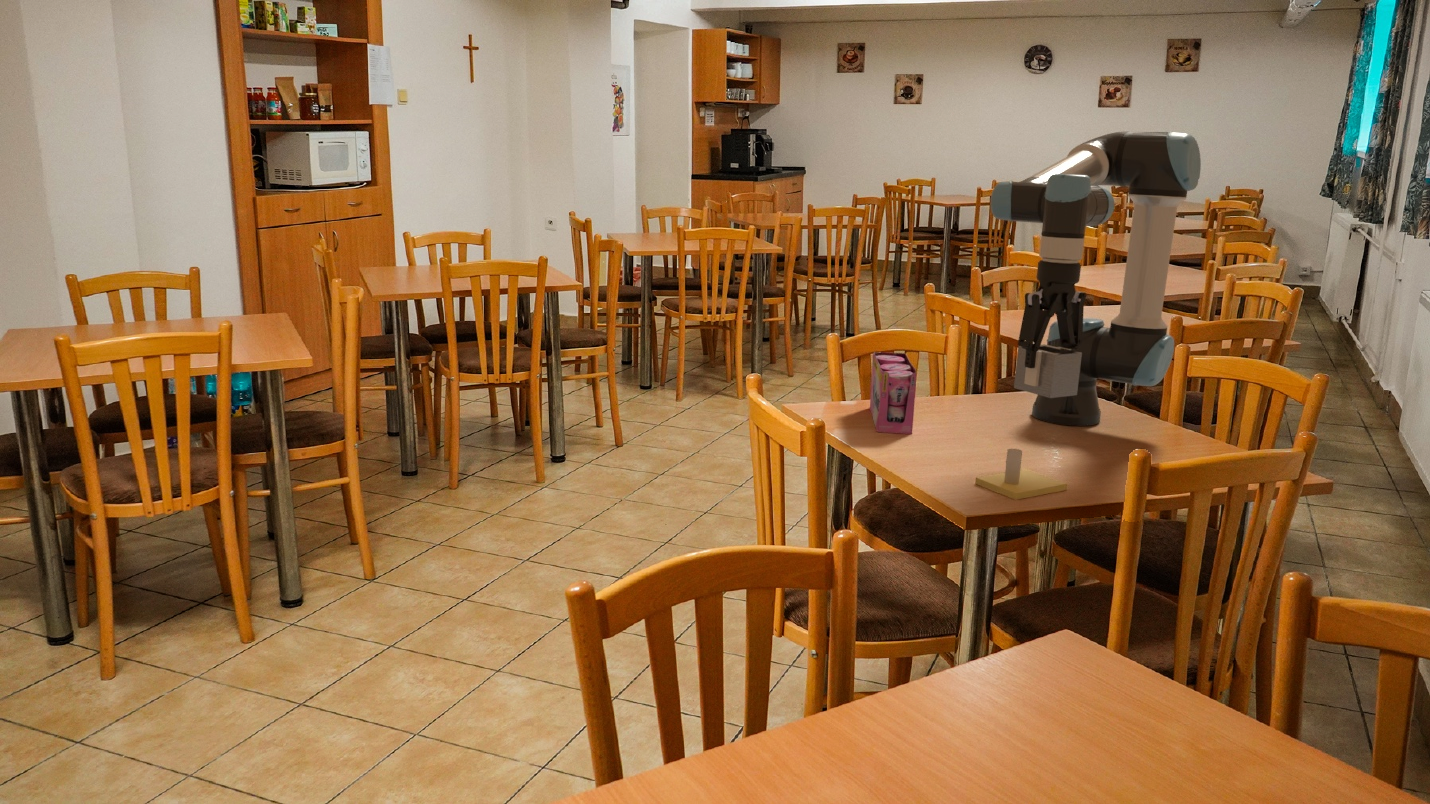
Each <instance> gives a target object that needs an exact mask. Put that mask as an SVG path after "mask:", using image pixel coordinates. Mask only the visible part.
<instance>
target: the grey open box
mask: <svg viewBox="0 0 1430 804" xmlns="http://www.w3.org/2000/svg"><path fill="white" fill-rule="evenodd" d="M1038 351H1041V352H1042V356H1041V365H1040V374H1039V382H1038V386H1036V387H1035V386H1031V385H1027V384H1024V381H1025V372H1026V367H1025V357H1026V349H1023V348H1022V347H1021V346H1018V347H1017V356H1016V365H1015V374H1014V382H1013V388H1014V389H1017V390H1020V391H1024V392H1026V393H1031V394H1034V395H1041V396H1045V397H1048V398H1056V397H1065V396H1074V395H1077V390H1078V382H1079V374H1080V366H1081V357H1082V353H1081V352H1076V351H1072V350H1067V349H1063V348H1058V347H1054V346H1050V345H1047V344H1041V345H1040V347H1039V350H1038Z"/></svg>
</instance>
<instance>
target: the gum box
mask: <svg viewBox="0 0 1430 804" xmlns="http://www.w3.org/2000/svg"><path fill="white" fill-rule="evenodd" d="M872 354H873V355H872V363H871V365H872V366H871V379H870V396H869V397H870V399H869V409H870V413H871V416H872V419H873V423H874V427H875V429H876V432H877V433H888V434H889V433H891V434H904V435H905V434H906V435H907V434H908V435H912V434H913V428H914V427H913V426H914V416H915V415H914V414H915V401H916V400H915V399H916V386H917V385H916V384H917V383H916V382H917V369H916V368H915V367H914V365H913V364H912V363H911V361H910V359H909V356H908V355H907V354H906V353H905V352H904V353H903V352H883V351H881V352H879V351H877V352H876V351H874V352H872Z"/></svg>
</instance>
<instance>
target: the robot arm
mask: <svg viewBox="0 0 1430 804" xmlns="http://www.w3.org/2000/svg"><path fill="white" fill-rule="evenodd" d="M1201 163H1202V162H1201V152H1200V147H1199V144H1198V142H1197V140H1196V138H1195V137H1194V136H1193V135H1191V134H1189V133H1185V132H1174V131H1118V132H1112V133H1107V134H1104V135H1100V136H1097V137H1095V138H1092V139H1089V140H1087V141H1085V142H1082V143H1080V144H1077V145H1076V146H1075V147H1074V148H1072V149H1071V150H1070V151H1069V152H1068V154H1067V155H1066V157H1064V158H1062V159H1061V160H1059V161H1057V162H1055V163H1053V164H1051V165H1049V166H1047V167H1046V168H1044V169H1042V170H1040V171H1039V172H1037V173H1034V174H1033V175H1031V176H1029V177H1027V178H1025V179H1023V180H1021V181H1013V180H1010V181H1001V182H1000V181H999V182H998V183H997V184H996V185H995V186H994V187H993V190H992V192H991V196H990V211H991V214H992V215H993V217H994V218H995V219H997V220H1002V221H1009V222H1010V223H1011V222H1018V223H1019V222H1020V223H1022V222H1023V223H1037V224H1038V223H1039V224H1042V227H1041V228H1042V229H1041V234H1040V235H1041V236H1040V243H1039V244H1040V246H1039V255H1038V257H1040V258H1041V259H1039V261H1038V262H1037V270H1036V279H1037V281H1038V282H1039V285H1038V288H1037V290H1036V291H1035V292H1032V293H1031V292H1026V293H1025V294H1024V310H1023V315H1022V321H1021V325H1020V331H1019V337H1018V340H1017V345H1018V346H1021V347H1022V348H1023V349H1026V357H1025V367H1026V372H1025V381H1024V384H1027V385H1031V386H1035V387H1036V386H1038V382H1039V374H1040V365H1041V356H1042V352H1041V351H1038V350H1039V347H1040V345H1042V343H1043V342H1042V341H1043V340H1044V336H1045V334H1046V331H1047V328H1048V327H1049V330H1048V335H1047V339H1046V345H1050V346H1054V347H1058V348H1063V349H1067V350H1072V351H1076V352H1081V353H1082V357H1081V366H1080V374H1079V382H1078V390H1077V395H1074V396H1065V397H1056V398H1048V397H1045V396H1041V395H1037V394H1036V395H1037V396H1036V397H1035V401H1034V402H1033V404H1032V410H1031V416H1033V418H1035V419H1038V420H1040V421H1043V422H1046V423H1050V424H1056V425H1062V426H1063V425H1064V426H1074V427H1075V426H1077V427H1083V426H1094V425H1097V424H1099V423H1100V422H1101V414H1102V412H1101V411H1102V410H1101V409H1100V406H1099V405H1100V403H1099V398H1098V392H1097V379H1099V380H1104V381H1110V382H1111V381H1112V382H1118V383H1123V384H1124V383H1125V384H1131V385H1132V386H1134V387H1135V386H1143V387H1153V386H1154V387H1155V386H1156V385H1157V384H1159V383H1161V381H1162V380H1163V379H1164V377H1165V375H1166V374H1167V371H1168V370H1169V368H1170V365H1171V362H1172V359H1173V357H1174V356H1173V355H1174V353H1175V352H1174V351H1175V338H1174V337H1173V336H1172V335H1170V334H1168V333H1167V331H1168V325H1167V323H1166V322H1165V321H1164V320H1163V318H1162V314H1163V309H1164V308H1163V307H1164V300H1165V295H1166V285H1167V279H1168V275H1169V274H1168V273H1169V267H1170V258H1171V251H1172V245H1173V239H1174V233H1175V232H1174V231H1175V226H1176V216H1177V211H1178V207H1179V206H1180V205H1181V204H1182V203H1183V202H1184V201H1186V200H1187V196H1188V195H1187V194H1188V192H1190V191H1193V190H1195V189H1196V188H1197V187H1198V184H1199V180H1200V178H1201ZM1103 186H1110V187H1111V186H1113V187H1123V188H1128V192H1127V193H1128V194H1127V196H1128V197H1129V199H1131V201H1132V202H1133V204H1134V205H1133V212H1132V221H1131V226H1130V235H1129V241H1128V249H1127V256H1126V263H1125V271H1124V277H1123V285H1122V291H1121V292H1122V294H1121V300H1120V301H1121V302H1120V308H1119V314H1118V315H1117V316H1115V317H1114V318H1113V319H1112V320H1110V326H1109V327H1105V323H1104V320H1103V319H1100V318H1084V305H1085V302H1086V299H1087V293H1086V292H1083V291H1077V290H1076V287H1075V284H1078V283H1079V282H1080V277H1081V271H1082V269H1081V268H1082V264H1081V263H1080V262H1079V261H1081V260H1082V259H1083V256H1084V255H1083V253H1084V246H1085V245H1084V244H1085V235H1086V234H1085V233H1086V228H1087V227H1090V228H1095V227H1096V226H1100V225H1103V224H1104V223H1106V222H1107V221H1108V220H1109V219H1110V218H1111V217H1112V215H1113V214H1114V211H1115V198H1114V197H1113V194H1112V193H1111V191H1109V190H1108V189H1107V188H1106V187H1103ZM1054 315H1056V321H1054V322H1053V323H1051V324H1050V326H1049V323H1050V321H1051V318H1053V317H1054Z"/></svg>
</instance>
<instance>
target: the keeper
mask: <svg viewBox="0 0 1430 804" xmlns="http://www.w3.org/2000/svg"><path fill="white" fill-rule="evenodd" d="M1022 458H1023V450H1021V449H1017V448H1008V449H1007V452H1006V461H1005V469H1004V470H1005V472H999V473H994V474H993V473H992V474H987V475H983V476H976V477H975V483H974V484H975V485H977V486H980V487H983V488H985V489H987V490H990V491H992V492H995V493H997V494H1000V495H1002V496H1005V497H1008V498H1009V499H1012V500H1014V501H1015V500H1021V499H1026V498H1032V497H1038V496H1042V495H1048V494H1052V493H1057V492H1063V491H1067V490H1068V483H1067V482H1064V481H1061V480H1059V479H1056V478H1053V477H1050V476H1048V475H1045V474H1042V473H1039V472H1037V471H1034V470H1031V469H1029V468H1021V467H1022V466H1021V465H1022Z"/></svg>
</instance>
